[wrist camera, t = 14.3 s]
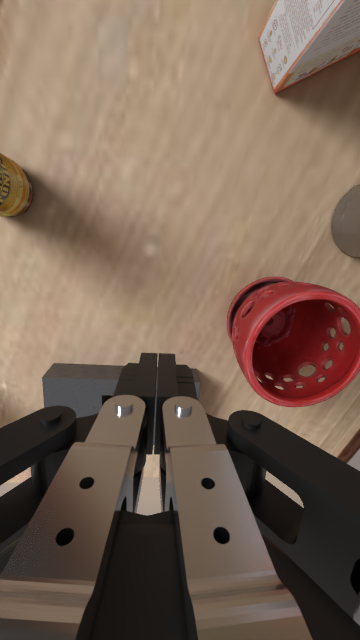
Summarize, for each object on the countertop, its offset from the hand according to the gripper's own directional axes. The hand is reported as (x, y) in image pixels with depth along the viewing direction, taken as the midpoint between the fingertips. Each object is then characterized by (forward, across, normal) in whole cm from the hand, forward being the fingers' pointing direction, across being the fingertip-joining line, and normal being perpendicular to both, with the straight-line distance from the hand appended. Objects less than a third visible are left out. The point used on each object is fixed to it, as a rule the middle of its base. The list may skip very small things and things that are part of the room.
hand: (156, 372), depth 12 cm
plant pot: (+25, -15, +4) cm, 30 cm away
